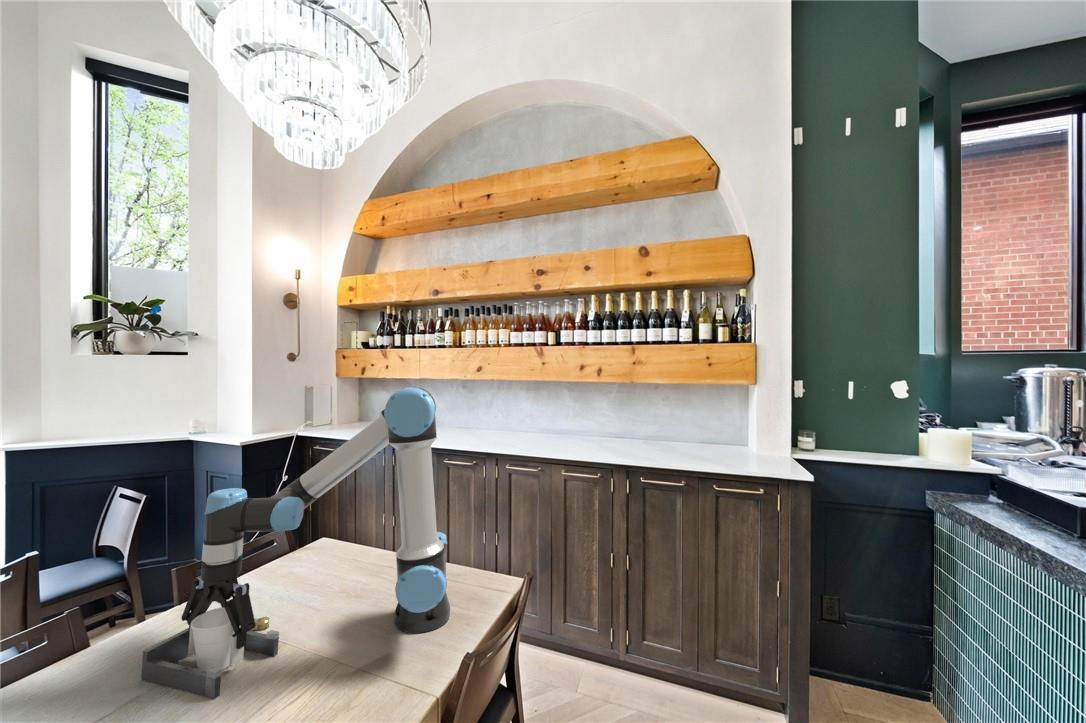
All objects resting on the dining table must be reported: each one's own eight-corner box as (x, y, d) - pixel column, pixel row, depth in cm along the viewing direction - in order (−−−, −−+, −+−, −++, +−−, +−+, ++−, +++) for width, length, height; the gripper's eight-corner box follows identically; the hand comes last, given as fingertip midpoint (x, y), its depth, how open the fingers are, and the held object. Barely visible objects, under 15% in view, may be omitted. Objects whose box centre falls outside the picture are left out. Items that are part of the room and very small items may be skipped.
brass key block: (270, 624, 114) (270, 616, 115) (266, 629, 112) (267, 621, 112) (240, 627, 113) (241, 619, 113) (236, 633, 110) (236, 625, 110)
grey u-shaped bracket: (277, 654, 102) (279, 628, 102) (213, 699, 87) (216, 668, 87) (211, 639, 107) (213, 614, 107) (140, 679, 92) (143, 651, 92)
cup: (234, 647, 104) (237, 601, 104) (247, 665, 98) (251, 616, 98) (181, 668, 96) (185, 617, 97) (192, 688, 90) (196, 634, 91)
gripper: (278, 558, 99) (272, 656, 98) (199, 546, 105) (192, 638, 103) (248, 572, 92) (241, 678, 90) (166, 558, 98) (158, 657, 96)
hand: (215, 657), depth 97 cm, fingers open, 11 cm apart
